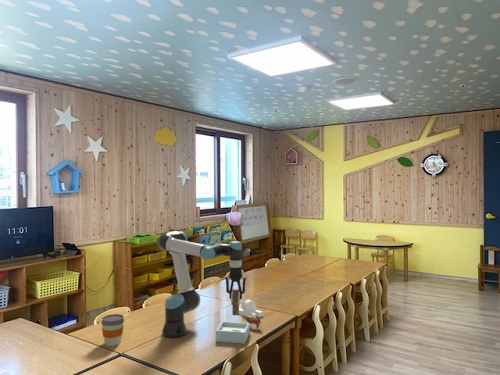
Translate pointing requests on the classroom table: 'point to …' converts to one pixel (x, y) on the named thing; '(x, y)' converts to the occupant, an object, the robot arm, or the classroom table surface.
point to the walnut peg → (235, 302)
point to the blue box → (232, 332)
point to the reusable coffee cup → (112, 329)
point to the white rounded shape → (250, 309)
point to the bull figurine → (253, 320)
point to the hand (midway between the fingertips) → (235, 304)
